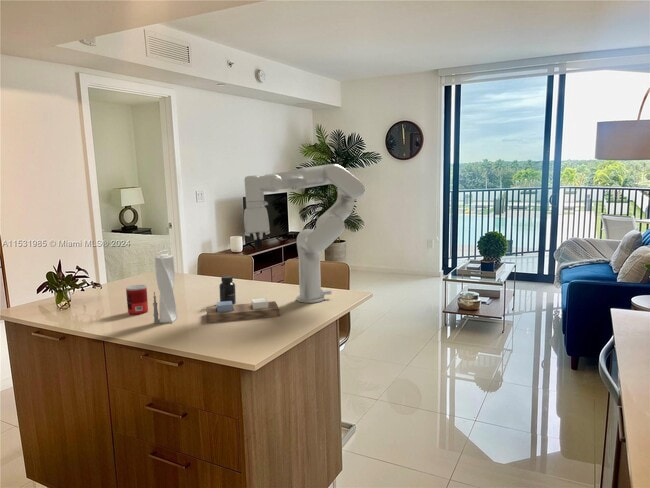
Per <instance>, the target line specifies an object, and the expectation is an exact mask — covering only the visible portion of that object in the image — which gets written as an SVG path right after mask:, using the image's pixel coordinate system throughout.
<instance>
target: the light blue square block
mask: <svg viewBox="0 0 650 488" xmlns="http://www.w3.org/2000/svg"><path fill="white" fill-rule="evenodd" d="M233 305H234V304H232V301H224V302H220V301H216V306H217V312H227V311H233Z"/></svg>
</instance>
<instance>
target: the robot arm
mask: <svg viewBox="0 0 650 488" xmlns="http://www.w3.org/2000/svg"><path fill="white" fill-rule="evenodd" d="M243 180H244V181H243V182H244V192H245V205H246V206H245V208H244V213H243V224H244V225H243V226H244V236H247V237H251V239H253V241H254V242H253V243H254V247H255V249H257V250H259V249H260V250H261V249H262V247H263V238H264V237H265V236H266V235H269V234H271V230H270V221H269V213H268V209H267V207H266V206H269V203H268V201H266V200H265V194H264V192H268V193H277V192H279V191H280V190H286V189H308V188H313V187H319V186H326V185H334V186H335V187H336V188H337V198H336V201H335V202H334V203H333V204H332V205H331V207H329V208H328V209H327V210H326V211H325V212H323V214H321V215H320V216H319V217H318V218H317V220H316V222H315V228H314V229H311V228H306V229H305V228H304V229H303V230H300V232H299V233H298V235H297V236H296V250H297V254H298V280H299V281H298V282H299V295H297V296H296V298H295V299H296V301H297V302H299V303H304V304H305V303H306V304H309V303H310V304H311V303H312V304H313V303H319V302H323V301H324V300H325V295H332V292H333V291H332V290H331V289H329V290H328V289H323V288H322V286H321V285H322V282H321V278H322V277H321V257H320V256H321V255H320V253H322V252H323V251H325V250H326V249H327V248H328V247H330V245H332V243H334V242H335V241H336V240H337V239H338V238H339V237H340V236H341V235H342V233H343V232H344V230H345V221H346V220H347V218H349V216H350V215H351V214H352V213H353V210H354V208H355V207H354V206H355V200H357V199H360V198H361V197H363V195H364V194H365V189H366V188H365V185H364V183H363V182H362V181H361V180H360V179H359V178H358V177H356V176H355V175H354V174H352V173H351V172H350V171H349V170H347V169H346V168H344V167H343V166H341V165H339V164H338V163H332V164H331V163H330V164H323V165H316V166H315V165H314V166H309V167H303V168H297V169H296V168H295V169H292V170H287V171H281V172H280V171H279V172H273V173H269V174H268V173H266V174H264V175H258V174H257V175H255V174H254V175H246V176H244V179H243ZM256 233H258V237H257V234H256Z"/></svg>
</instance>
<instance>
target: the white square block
mask: <svg viewBox="0 0 650 488" xmlns="http://www.w3.org/2000/svg"><path fill="white" fill-rule="evenodd" d="M268 302H269V301H268V298H266V297H263V298H262V297H261V298H251V303H252V308H253V309H262V308H268Z"/></svg>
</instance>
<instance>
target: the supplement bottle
mask: <svg viewBox="0 0 650 488" xmlns="http://www.w3.org/2000/svg"><path fill="white" fill-rule="evenodd" d="M233 280H234V279H233V276H232V275H224V276H221V282H220V283H219V285H218V286H219V288H218V289H219V302H224V301H232V304H233V305H236V298H237V297H236V284H235V282H233Z"/></svg>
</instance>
